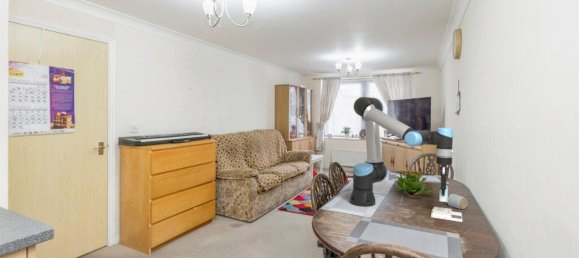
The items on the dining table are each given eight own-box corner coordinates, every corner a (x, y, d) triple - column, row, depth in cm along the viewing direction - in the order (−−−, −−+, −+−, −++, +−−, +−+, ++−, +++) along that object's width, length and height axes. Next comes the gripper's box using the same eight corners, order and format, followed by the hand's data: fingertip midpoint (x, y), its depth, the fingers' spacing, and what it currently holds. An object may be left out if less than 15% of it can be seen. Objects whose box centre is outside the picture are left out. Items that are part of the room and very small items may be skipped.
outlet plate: (431, 217, 153) (431, 212, 153) (432, 210, 163) (432, 205, 163) (462, 222, 146) (462, 216, 146) (461, 214, 157) (461, 210, 156)
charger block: (439, 201, 155) (439, 184, 155) (439, 199, 159) (439, 182, 158) (447, 202, 153) (448, 184, 153) (447, 200, 157) (448, 183, 156)
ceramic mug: (460, 210, 163) (461, 197, 163) (446, 206, 170) (447, 193, 170) (471, 208, 168) (472, 195, 168) (457, 204, 176) (458, 192, 175)
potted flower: (437, 195, 196) (438, 169, 195) (433, 204, 176) (434, 175, 175) (398, 189, 209) (399, 165, 209) (390, 197, 189) (391, 170, 189)
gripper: (452, 159, 146) (451, 205, 147) (452, 155, 161) (451, 197, 162) (435, 158, 149) (434, 203, 150) (436, 154, 164) (435, 195, 165)
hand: (443, 200), depth 156 cm, fingers closed on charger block, 4 cm apart
